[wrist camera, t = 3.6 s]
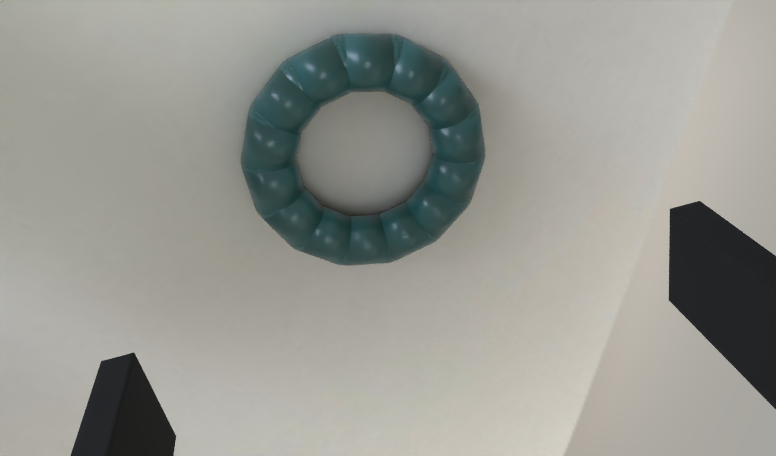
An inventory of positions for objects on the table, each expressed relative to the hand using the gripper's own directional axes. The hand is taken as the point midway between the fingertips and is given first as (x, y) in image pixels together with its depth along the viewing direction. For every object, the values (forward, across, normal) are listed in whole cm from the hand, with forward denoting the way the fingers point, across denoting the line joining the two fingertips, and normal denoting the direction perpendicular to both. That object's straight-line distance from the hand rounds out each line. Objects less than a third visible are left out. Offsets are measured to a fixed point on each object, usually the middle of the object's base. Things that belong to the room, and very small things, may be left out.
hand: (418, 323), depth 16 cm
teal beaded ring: (+11, 0, 0) cm, 11 cm away
